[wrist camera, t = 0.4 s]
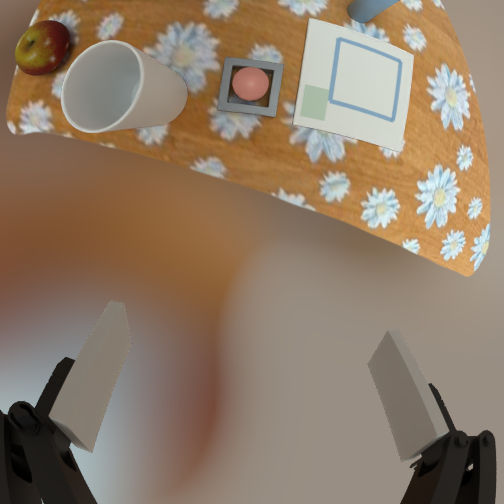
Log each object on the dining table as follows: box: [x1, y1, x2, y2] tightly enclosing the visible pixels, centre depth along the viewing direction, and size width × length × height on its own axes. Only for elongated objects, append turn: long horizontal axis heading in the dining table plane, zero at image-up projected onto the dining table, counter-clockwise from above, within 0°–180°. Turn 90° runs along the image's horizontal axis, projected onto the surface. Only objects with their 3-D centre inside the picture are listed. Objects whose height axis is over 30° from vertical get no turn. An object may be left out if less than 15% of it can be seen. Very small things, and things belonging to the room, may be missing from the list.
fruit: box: [15, 20, 70, 76], centre depth 21 cm, size 10×9×8 cm
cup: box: [61, 40, 188, 133], centre depth 23 cm, size 8×8×16 cm
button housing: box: [217, 57, 284, 117], centre depth 29 cm, size 7×7×2 cm
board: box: [292, 18, 414, 152], centre depth 29 cm, size 16×16×1 cm
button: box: [233, 67, 269, 101], centre depth 27 cm, size 4×4×2 cm
